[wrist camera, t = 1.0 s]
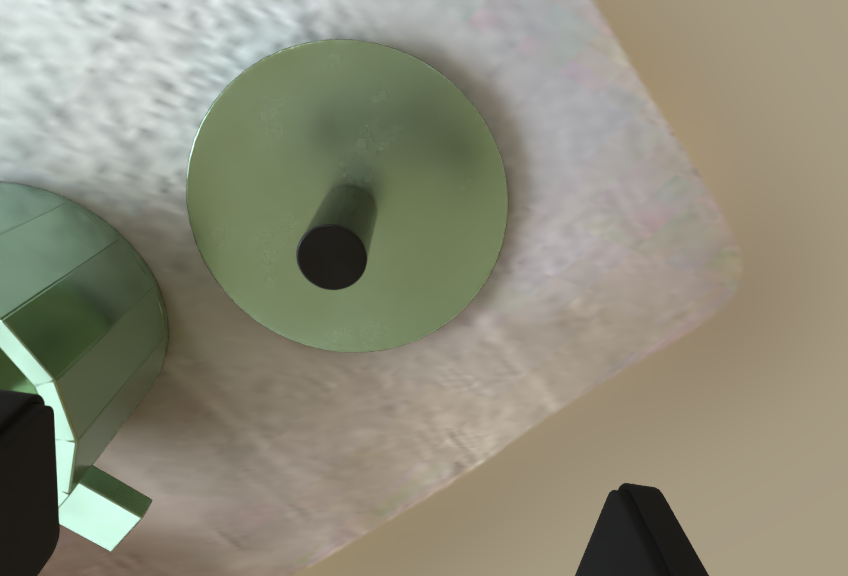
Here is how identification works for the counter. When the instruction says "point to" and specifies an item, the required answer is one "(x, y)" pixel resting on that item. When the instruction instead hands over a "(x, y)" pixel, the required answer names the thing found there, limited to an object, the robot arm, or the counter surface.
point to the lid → (347, 195)
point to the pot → (79, 344)
